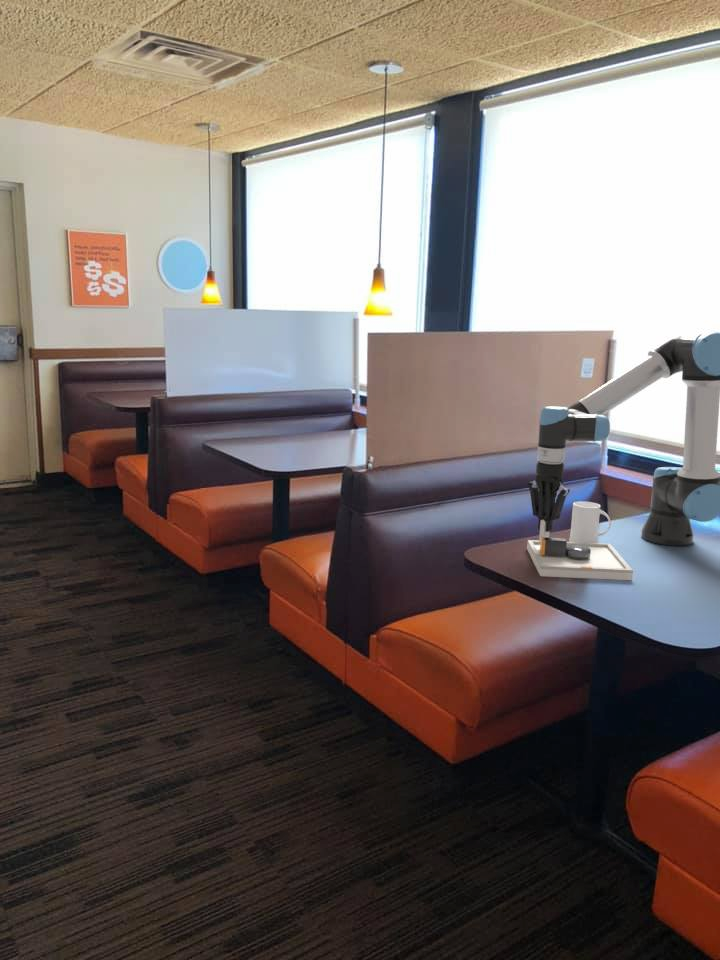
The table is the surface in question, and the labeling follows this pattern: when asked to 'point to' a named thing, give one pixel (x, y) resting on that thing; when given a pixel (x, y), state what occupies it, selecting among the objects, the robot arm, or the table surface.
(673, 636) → the table surface
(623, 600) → the table surface
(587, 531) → the mug
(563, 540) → the dark grey handled piece
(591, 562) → the white square tray
